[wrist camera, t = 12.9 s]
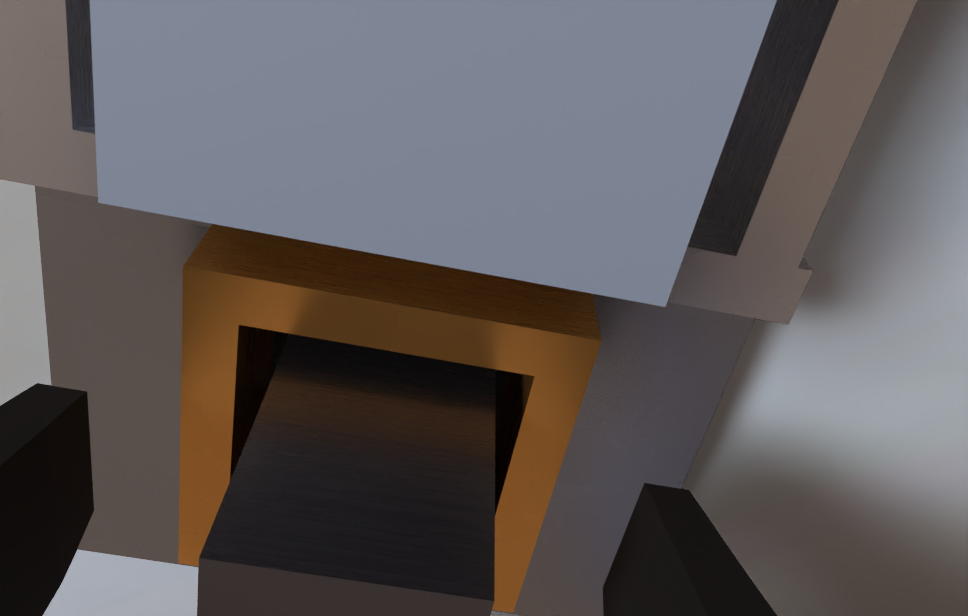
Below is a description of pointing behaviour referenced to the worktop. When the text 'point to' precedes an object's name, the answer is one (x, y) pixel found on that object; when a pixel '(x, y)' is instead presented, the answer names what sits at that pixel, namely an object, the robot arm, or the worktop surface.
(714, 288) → the bin
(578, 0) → the pale blue block
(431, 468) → the charcoal grey cuboid
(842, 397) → the worktop surface
